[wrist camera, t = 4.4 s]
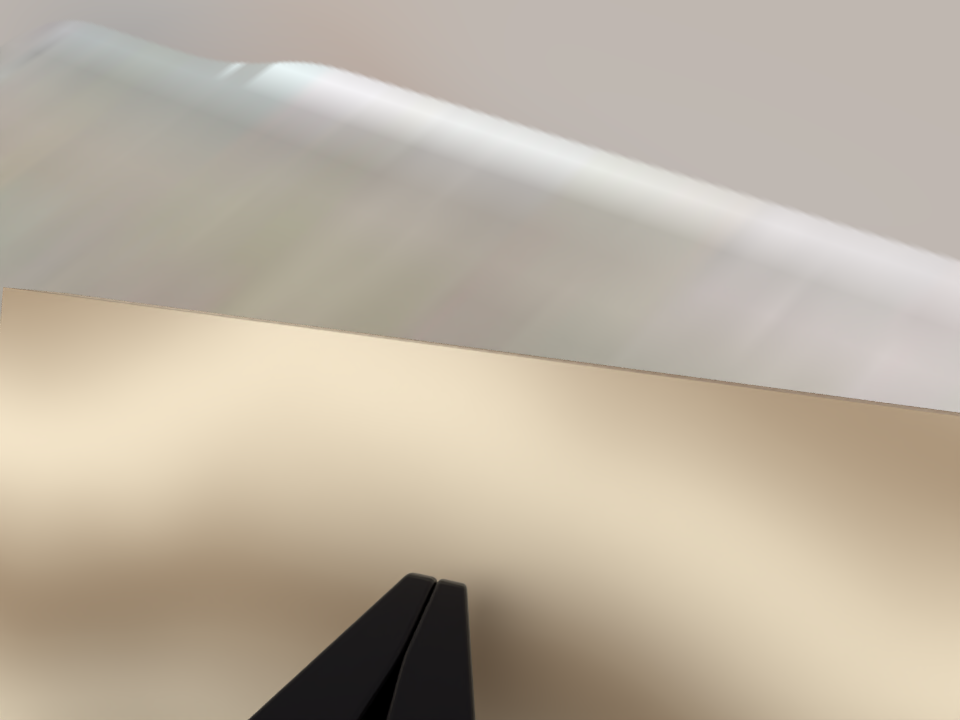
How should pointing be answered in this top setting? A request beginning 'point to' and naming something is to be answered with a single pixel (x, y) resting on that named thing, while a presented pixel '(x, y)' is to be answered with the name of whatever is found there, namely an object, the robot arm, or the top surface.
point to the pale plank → (456, 524)
